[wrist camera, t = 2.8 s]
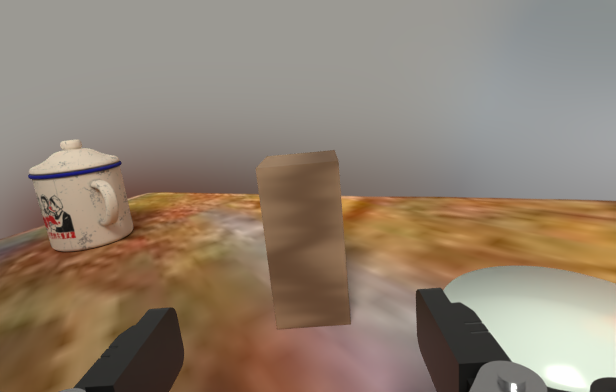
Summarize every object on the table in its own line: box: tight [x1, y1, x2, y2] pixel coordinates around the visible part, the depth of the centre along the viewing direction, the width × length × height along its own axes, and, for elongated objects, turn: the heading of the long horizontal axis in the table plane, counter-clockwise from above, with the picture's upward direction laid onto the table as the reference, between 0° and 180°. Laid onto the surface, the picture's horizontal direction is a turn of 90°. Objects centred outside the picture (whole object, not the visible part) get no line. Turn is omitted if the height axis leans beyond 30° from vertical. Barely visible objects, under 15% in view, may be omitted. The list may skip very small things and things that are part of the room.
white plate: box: [443, 266, 616, 392], centre depth 20 cm, size 11×11×1 cm
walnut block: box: [256, 150, 351, 329], centre depth 23 cm, size 4×4×10 cm
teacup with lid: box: [28, 140, 133, 252], centre depth 42 cm, size 12×9×12 cm
